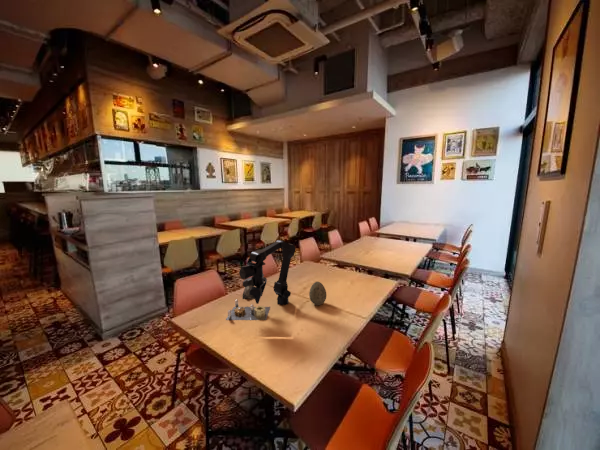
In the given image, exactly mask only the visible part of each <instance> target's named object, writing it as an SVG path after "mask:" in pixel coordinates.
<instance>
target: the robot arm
mask: <svg viewBox="0 0 600 450" xmlns="http://www.w3.org/2000/svg"><path fill="white" fill-rule="evenodd" d="M278 250H281V254H282V262H281V267H280V271H279V276H278V280H277V281H274V283H273V284H274V285H273V287H272V288H273V292H274V293H275V294H276V296H277V299H276V303H277V305H281V306H285V305H289V298H290V297H291V294H292V293H291V291H290V290H289V289H288V287H289V286H288V282H287V279H288V276H289V275H288V274H289V269H290V265H291V259H292V258H293V257H294V255H295V252H296V246H295V244H292V243H288V242H286V241H284V240H280V239H278V240H276V241H275V242H273V243H271V244H270V245H268V246H266V247H264V248H262V249H257V250H253V251H252V252H251V253H250V255H249V257H248V260H247V261H246V265H242V266H241V267H240V269H239V272H238V273H239V274H238V275H239V277H240V278H241V279H242V280H243V281H242V286H243V287H244V288H245V287H247V286H250V285H252V286H254V287H252V288H251V289H250V291H249V295H252V296H254V298H255V299H254V302H255V304H257V305H258V304H259V303H260V299H261V297H262V296H263V294H264V291H265V288H266V284H267V283H268V282H267V281H268V279H267V277H265V274H264V271H263V270H264V269H263V267H264V266H265V265H266V263H265V262H264V261H266V259H267V258H268V256H270V255H271V254H273V253H275V252H276V251H278Z"/></svg>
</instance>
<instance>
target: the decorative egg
mask: <svg viewBox="0 0 600 450" xmlns="http://www.w3.org/2000/svg"><path fill="white" fill-rule="evenodd" d="M308 293H309V300H310V302H311V303H312V304H313V305H315V306H321V305H323V304H324V303H325V302H326V301H327V290H326V288H325V285H323V283H322V282H321V281H315V282H314V283H312V284H311V287H310V289H309V291H308Z"/></svg>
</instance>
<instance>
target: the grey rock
mask: <svg viewBox="0 0 600 450" xmlns="http://www.w3.org/2000/svg"><path fill="white" fill-rule="evenodd" d="M252 287H255V286H252V285H250V286H247V287H244V289H243V293H242V300H244V299H245V300H246V299H249V300H255V298H254V296H252V295H249V291H250V289H251V288H252Z"/></svg>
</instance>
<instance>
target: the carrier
mask: <svg viewBox="0 0 600 450" xmlns="http://www.w3.org/2000/svg"><path fill="white" fill-rule="evenodd" d="M234 304H235V305H234V306H233V308H232V309H229V310H227V317H226V319H225V321H266V320H267V318H268V315H269V313H270V310H271V306H264V307H265V311H266V314H265V316H264V317H262V318H257V317H255V316H254V309H255V307H256V306H254V304H250V306H239V299H237V298H236V299H235V300H234Z"/></svg>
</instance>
